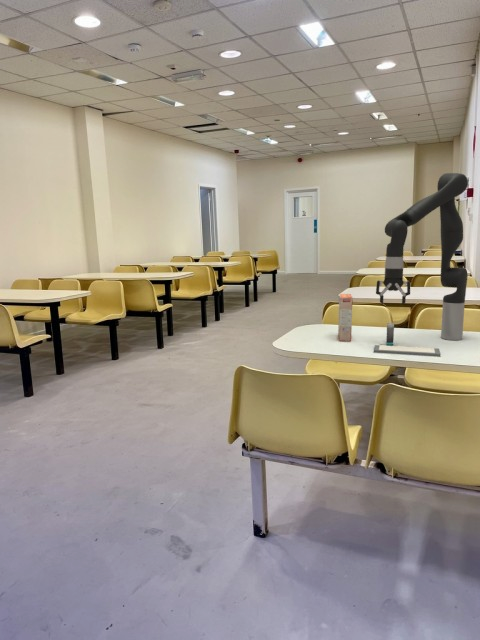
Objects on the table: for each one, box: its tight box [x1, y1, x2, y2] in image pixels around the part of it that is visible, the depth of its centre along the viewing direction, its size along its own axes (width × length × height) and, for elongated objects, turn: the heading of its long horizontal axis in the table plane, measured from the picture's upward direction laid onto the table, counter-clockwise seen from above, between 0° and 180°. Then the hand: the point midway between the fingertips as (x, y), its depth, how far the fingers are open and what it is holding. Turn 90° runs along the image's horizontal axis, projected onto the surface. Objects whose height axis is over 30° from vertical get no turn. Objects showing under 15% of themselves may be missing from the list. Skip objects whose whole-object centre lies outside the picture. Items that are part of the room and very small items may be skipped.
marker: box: [385, 322, 395, 346], centre depth 208 cm, size 3×3×10 cm
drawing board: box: [373, 344, 441, 358], centre depth 197 cm, size 10×26×1 cm, turn 70°
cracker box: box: [337, 293, 354, 342], centre depth 223 cm, size 14×6×21 cm, turn 170°
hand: (392, 304), depth 205 cm, fingers open, 8 cm apart
